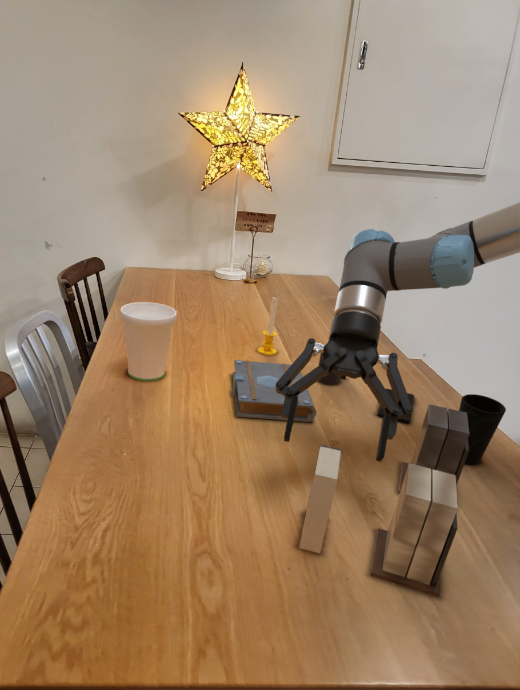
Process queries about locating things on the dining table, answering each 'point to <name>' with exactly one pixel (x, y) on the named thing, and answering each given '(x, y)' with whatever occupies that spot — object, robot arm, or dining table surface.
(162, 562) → the dining table surface
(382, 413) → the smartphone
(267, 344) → the candle
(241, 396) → the book
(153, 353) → the cup
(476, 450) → the cup
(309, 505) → the beige rectangular block
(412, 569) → the white books
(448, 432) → the grey books
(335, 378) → the speaker
